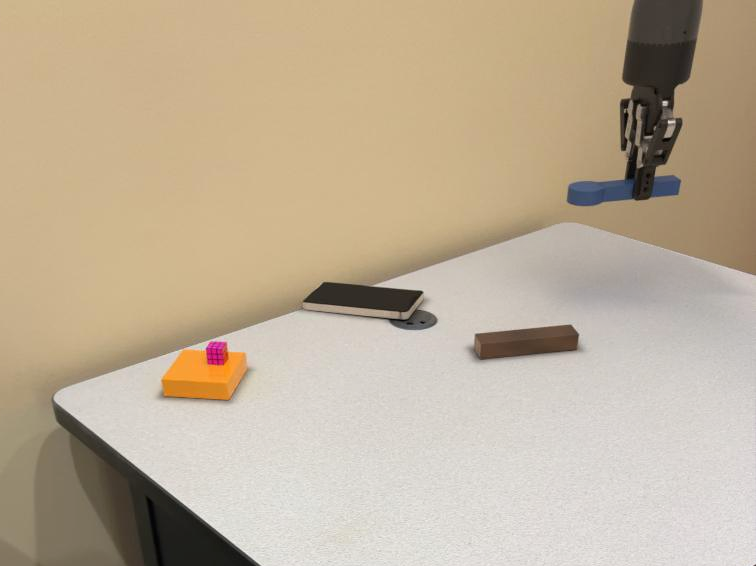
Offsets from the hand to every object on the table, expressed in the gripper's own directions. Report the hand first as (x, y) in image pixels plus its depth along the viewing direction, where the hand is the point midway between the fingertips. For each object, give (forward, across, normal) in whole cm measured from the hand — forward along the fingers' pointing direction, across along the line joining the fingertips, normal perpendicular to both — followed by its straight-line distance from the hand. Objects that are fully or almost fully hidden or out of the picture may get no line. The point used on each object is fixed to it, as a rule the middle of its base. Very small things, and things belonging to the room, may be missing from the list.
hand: (636, 195), depth 112 cm
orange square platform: (+12, -15, +56) cm, 59 cm away
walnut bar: (+13, -14, +17) cm, 25 cm away
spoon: (0, 0, +2) cm, 2 cm away
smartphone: (+12, +4, +34) cm, 37 cm away
